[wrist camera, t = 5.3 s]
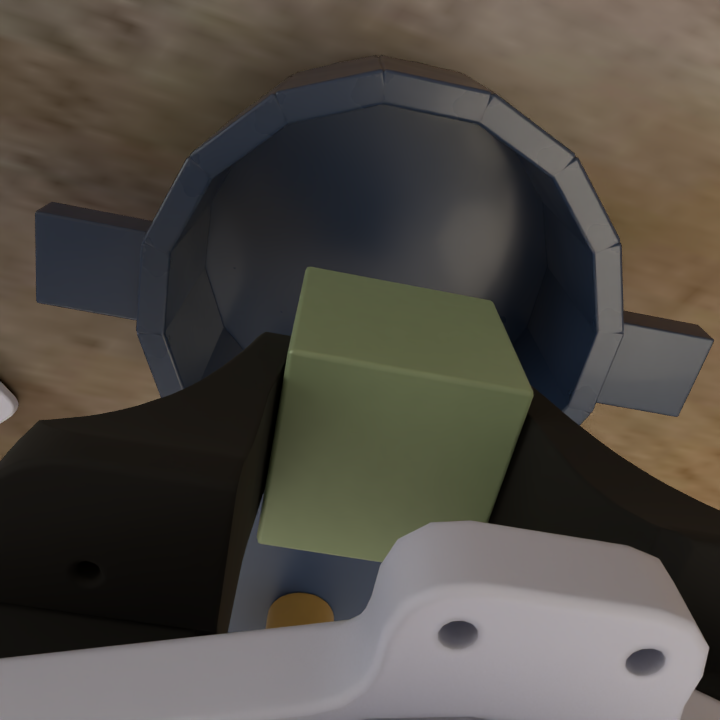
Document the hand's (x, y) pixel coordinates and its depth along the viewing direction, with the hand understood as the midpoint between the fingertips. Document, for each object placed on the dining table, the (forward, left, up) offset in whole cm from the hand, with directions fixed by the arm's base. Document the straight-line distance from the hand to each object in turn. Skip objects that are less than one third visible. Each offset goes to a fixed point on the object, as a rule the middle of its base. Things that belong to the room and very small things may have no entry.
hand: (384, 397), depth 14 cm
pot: (0, 0, -9) cm, 9 cm away
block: (0, 0, -1) cm, 1 cm away
